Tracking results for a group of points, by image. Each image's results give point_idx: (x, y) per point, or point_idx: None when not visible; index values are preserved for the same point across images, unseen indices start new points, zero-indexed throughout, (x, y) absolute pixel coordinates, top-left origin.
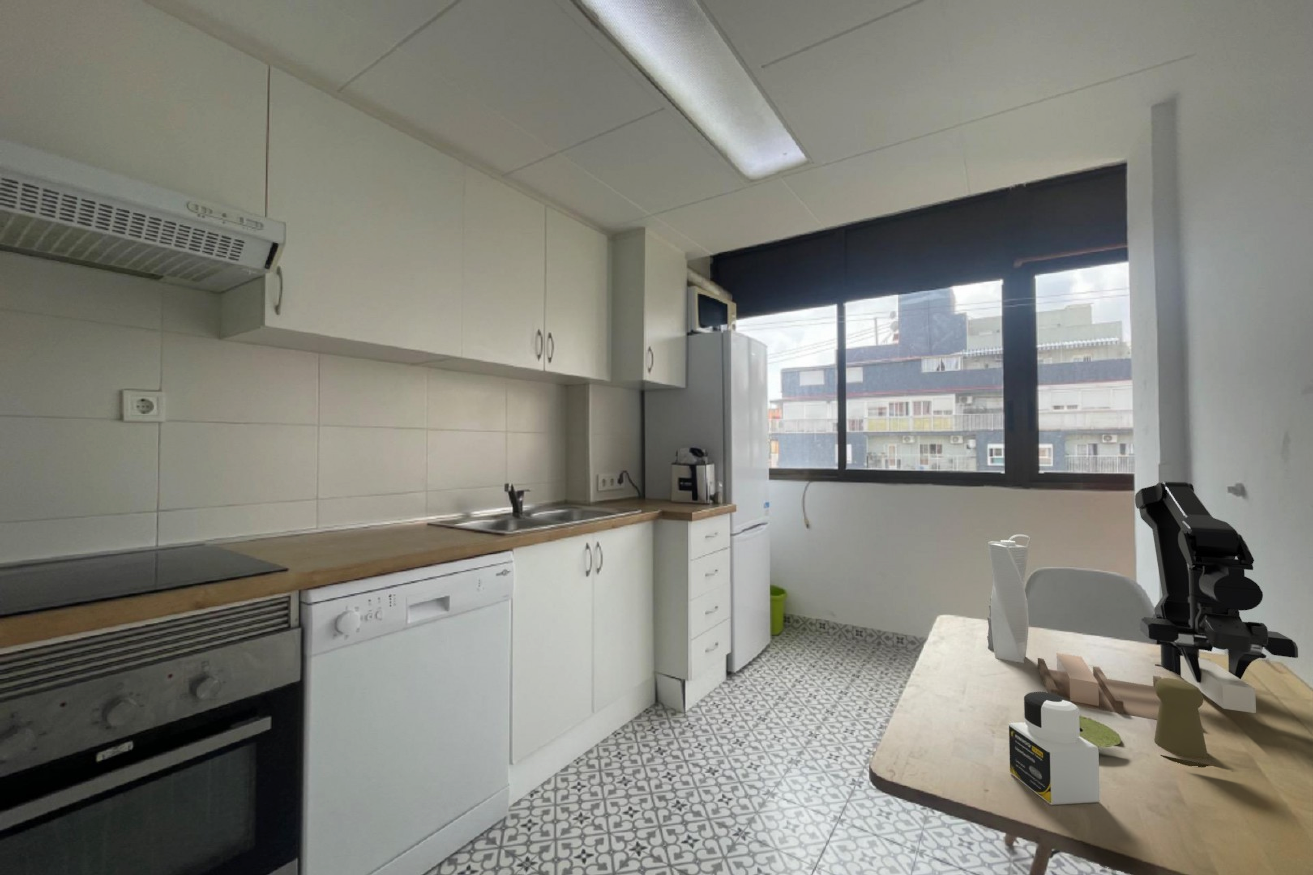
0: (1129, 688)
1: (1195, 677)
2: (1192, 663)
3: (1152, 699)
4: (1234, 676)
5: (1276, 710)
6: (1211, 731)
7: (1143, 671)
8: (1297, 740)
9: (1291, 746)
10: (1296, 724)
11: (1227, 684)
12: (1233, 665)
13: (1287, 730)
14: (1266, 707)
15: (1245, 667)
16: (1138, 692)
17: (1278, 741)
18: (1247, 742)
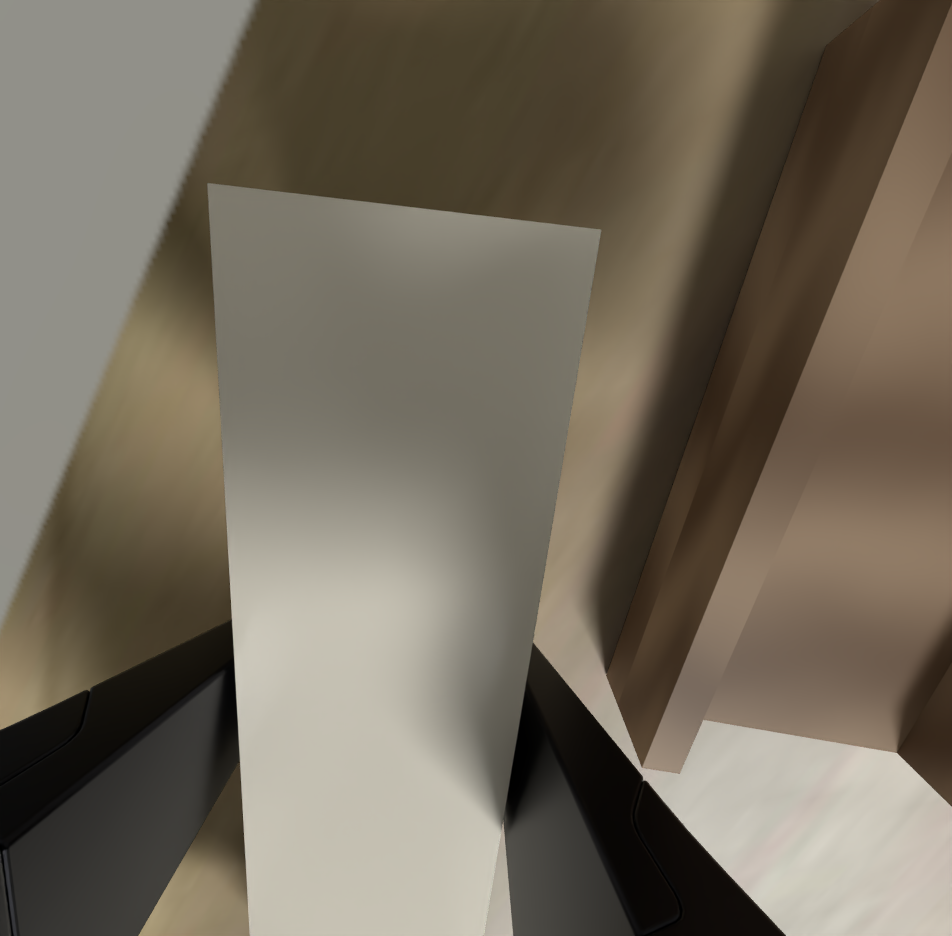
0: (832, 634)
1: (549, 671)
2: (637, 792)
3: (816, 488)
4: (253, 620)
5: (111, 625)
6: (674, 155)
7: (507, 921)
8: (202, 190)
9: (290, 56)
10: (95, 459)
11: (527, 248)
12: (139, 818)
13: (186, 346)
14: (143, 650)
15: (1, 739)
16: (821, 585)
17: (329, 124)
18: (546, 21)
